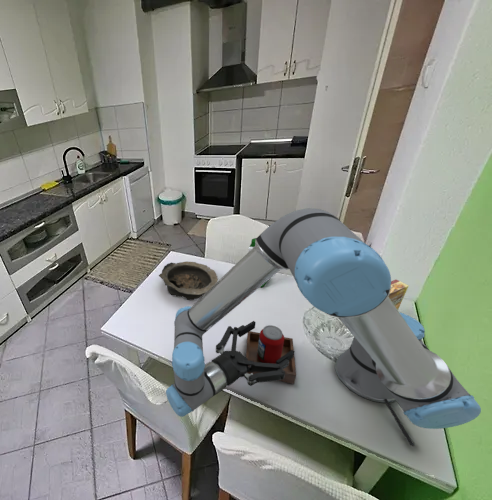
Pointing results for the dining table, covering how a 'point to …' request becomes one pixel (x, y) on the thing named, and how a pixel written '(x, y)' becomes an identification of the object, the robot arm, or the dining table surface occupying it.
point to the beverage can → (270, 344)
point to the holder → (287, 346)
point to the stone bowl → (188, 279)
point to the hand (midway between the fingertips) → (272, 338)
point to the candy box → (397, 292)
